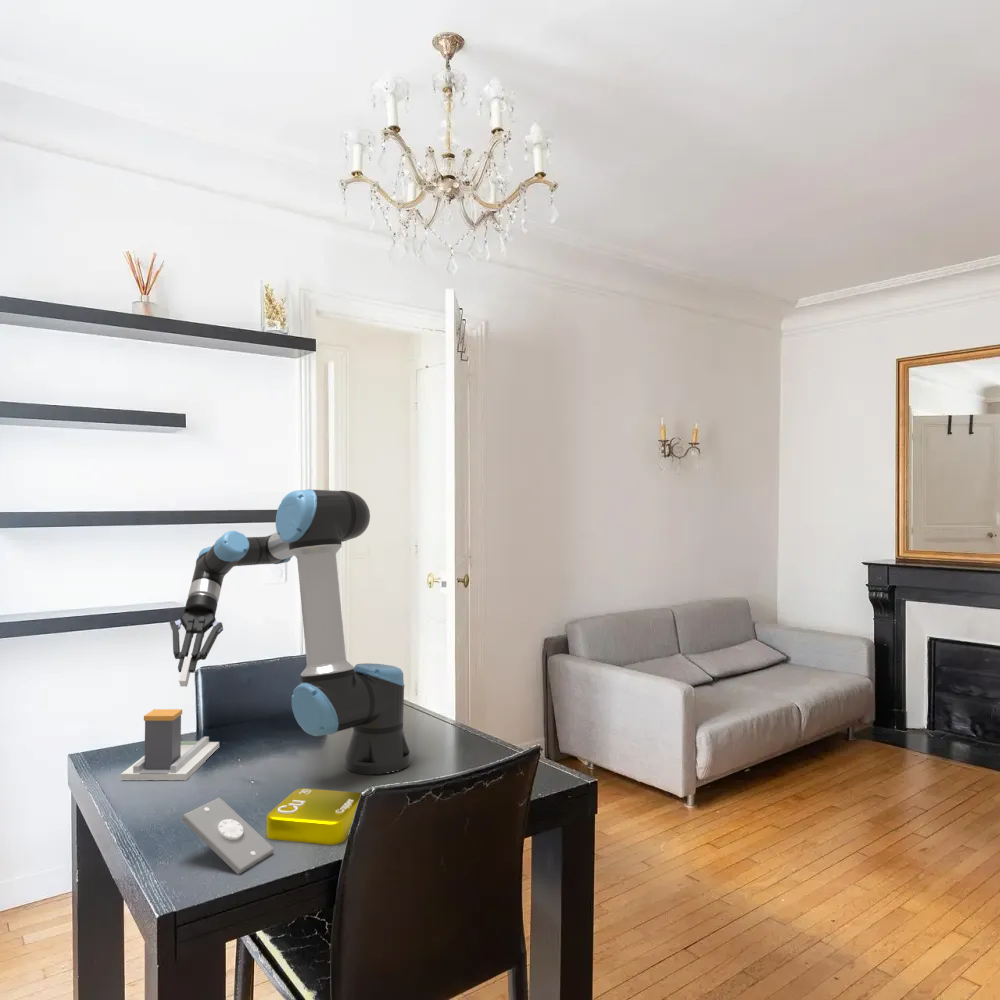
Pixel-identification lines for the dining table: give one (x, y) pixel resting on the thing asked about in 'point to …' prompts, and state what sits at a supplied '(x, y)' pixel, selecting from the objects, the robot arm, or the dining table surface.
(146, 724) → the handle
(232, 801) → the dining table surface
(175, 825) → the dining table surface
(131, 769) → the railed base plate
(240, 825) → the light switch
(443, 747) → the dining table surface
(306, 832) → the element tile
